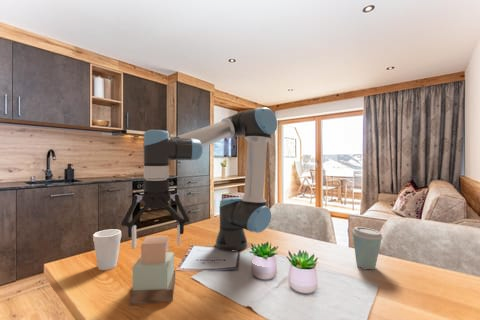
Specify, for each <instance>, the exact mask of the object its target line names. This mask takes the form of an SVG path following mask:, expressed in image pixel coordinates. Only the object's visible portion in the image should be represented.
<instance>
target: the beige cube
mask: <svg viewBox="0 0 480 320" xmlns="http://www.w3.org/2000/svg"><path fill="white" fill-rule="evenodd" d="M169 238H170V237H169V235H148V236H146V237H145V238H144V240H143V241H142V242H141V244H140V245H141V246H140V257H141V264H151V263H165V262H166V259H167V256H168V252H169Z"/></svg>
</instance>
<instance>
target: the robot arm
mask: <svg viewBox="0 0 480 320" xmlns="http://www.w3.org/2000/svg"><path fill="white" fill-rule="evenodd" d="M274 113H275V112H273V110H272V109H270V108H268V107H257V108H253V109H248V110H242V111H239V112H236V113H235V114H233V115H231V116H228V117H224V118H223V119H222V120H221V121H220V122H217V123H214V124H213V123H212V124H210V125H207V126H204V127H202V128H201V127H200V128H197V129H195V130H191V131H189V132H186V133H183V134H179V135H176V136H174V137H171V136H170V135H169V131H168V130H164V129H163V130H162V129H149V130H146V131H145V132H144V133H143V144H142V145H143V179H145V180H144V181H143V194H142V195H140V194H138V193H136V194H134V195H133V196H132V199H131V200H132V202H131V204H130V206H129V208H128V210H127V211H126V214H125V216H124V217H123V220H122V222H121V226H122V227H127V233H128V234H127V236H128V238H131V249H132V250H135V248H137V225H136V224H135V223H136V222H137V221H138V220H139V219H140V218H141V216H142V215H143V214H144V213H145V212H146V210H147V209H148V208H149V209H150V210H155V209H158V210H162V209H165V210H166V211H167V212H168V213H169V214H170V215H171V216H172V217H173V218H174V220H175V221H176V222H177V225H176V226H177V227H176V228H177V233H176V237H177V238H176V239H177V240H176V242H177V246H179V247H180V246H181V235H184V232H185V229H184V227H185V224H187V223H190V217H189V215H188V213H187V212H186V209H185V208H184V205H183V203H182V201H181V199H180V194H179V193H178V192H176V193H174V194H171V193H170V180H169V178H170V164H169V163H170V161H197V160H199V159H200V158H201V157H202V155H203V147H205V146H207V145H210V144H213V143H215V142H218V141H221V140H224V139H232V138H235V137H244V139H245V140H246V142H247V149H246V150H247V151H246V163H245V178H244V191H243V196H235V197H234V196H233V197H224V198H222V199H221V200H220V202H219V231H218V234H217V237H216V240H215V247H216V248H217V249H219V250H222V251H225V252H233V251H232V250H238V251H241V250H244V249H246V248H247V246H248V240H247V236H246V233H245V230H246V231H249V232H251V233H253V232H254V233H262V232H264V231H265V230H267V227H268V226H269V225H270V223H271V219H272V210H270V208H269V207H268V206H267V203H268V202H267V200H266V198H265V197H264V193H265V179H266V177H265V175H266V164H267V163H266V162H267V150H268V149H267V147H268V143H269V142H270V141H271V137H272V135H273V134H274V133H275V132H276V131H277V129H278V120H277V117H276V115H275V114H274ZM170 199H171V200H172V201H173V202H174V203H175V204H176V207H177V208H178V210H179V211H180V214H181V215H182V217H181V216H180V214H179V213H178V212H177V211H176V210H175V209H174V207H172V205H171V204H170V203H169V201H170ZM141 200H142V201H143V202H144V206H143V207H142V208H141V209H140V210H139V211H138V213H137V214H136V215H135V216H134V217H133V218H132V219H131V220H130V218H131V216H132V215H133V213H134V210H135V209H136V207H137V205H138V203H140V202H141Z"/></svg>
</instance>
